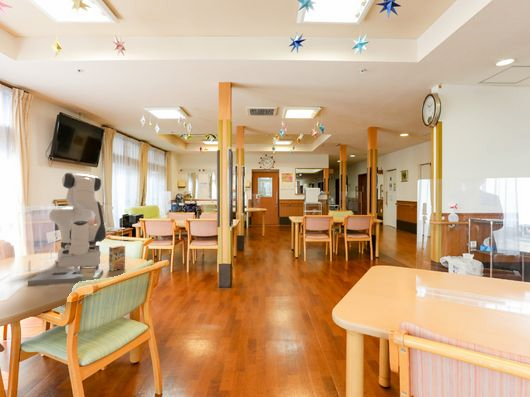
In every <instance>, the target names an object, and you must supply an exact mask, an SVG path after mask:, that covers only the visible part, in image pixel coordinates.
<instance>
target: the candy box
mask: <svg viewBox="0 0 530 397" xmlns="http://www.w3.org/2000/svg"><path fill="white" fill-rule="evenodd" d="M108 250H109V251H108V271H110V270H111V272H114V270H115V271H118V270H117V269H120V270H123V269H122V268H125V269H126V245H123V244H122V245H116V246H109V247H108Z"/></svg>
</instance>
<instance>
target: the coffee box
mask: <svg viewBox="0 0 530 397" xmlns="http://www.w3.org/2000/svg"><path fill="white" fill-rule="evenodd" d="M89 249H93V250H95V249H98V250H99V251H100V245H95V244H89ZM85 267H95V270H98V269H99V267H100V264H99V265H97V266H85ZM81 269H82V268H81V266H79V270H81ZM99 270H100V269H99Z"/></svg>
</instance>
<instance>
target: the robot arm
mask: <svg viewBox="0 0 530 397" xmlns="http://www.w3.org/2000/svg"><path fill="white" fill-rule="evenodd" d="M61 182H62V183H61V184H62V186H63V187H64V188H65V189H67V193H66V197H65V201H66V203H67V204H68V205H70V206H72V207H57V208H53V209H52V210H51V211H50V212H49V220H50V221H51V222H53V223H54V224H56V225H57V226H58V228H59V229H60V233H61V235H60V236H61V242H60V248H59V249H57V259H55V260H54V262H56V263H57V266H58V267H59V268H70V267H72V268H73V269H74V271H76V274H82V269H83V268H85V266H97V265H99V266H100V264H101V254H102V253H101V251H100V249H99V250H98V249H95V250H93V249H89V245H90V242H96V243H97V242H100V243H101V242H103V240H105V239H106V238H107V234H108V233H107V232H108V231H107V229H106V226H105V221H104V215H103V210H102V205H101V203H100V202H99V201H98V200H97V199H96V197H95V192H98V191H99V190H100V189H101V187H102V179H101V178H100V177H99V176H96V175H91V174H90V175H89V174H86V173H75V172H74V173H73V172H65V174H64V175H63V177H62V179H61ZM93 214H94V215H95V222H96V224H95V225H94V224H93V225H90V224H89V221H90V220H91V219H92V216H93ZM80 266H81V268H82V269H81V270H80V269H79V268H78V267H80Z"/></svg>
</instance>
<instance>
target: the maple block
mask: <svg viewBox="0 0 530 397" xmlns="http://www.w3.org/2000/svg"><path fill="white" fill-rule="evenodd" d="M94 275H95V267H85V268H83V269H82V277H93V276H94Z"/></svg>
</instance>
